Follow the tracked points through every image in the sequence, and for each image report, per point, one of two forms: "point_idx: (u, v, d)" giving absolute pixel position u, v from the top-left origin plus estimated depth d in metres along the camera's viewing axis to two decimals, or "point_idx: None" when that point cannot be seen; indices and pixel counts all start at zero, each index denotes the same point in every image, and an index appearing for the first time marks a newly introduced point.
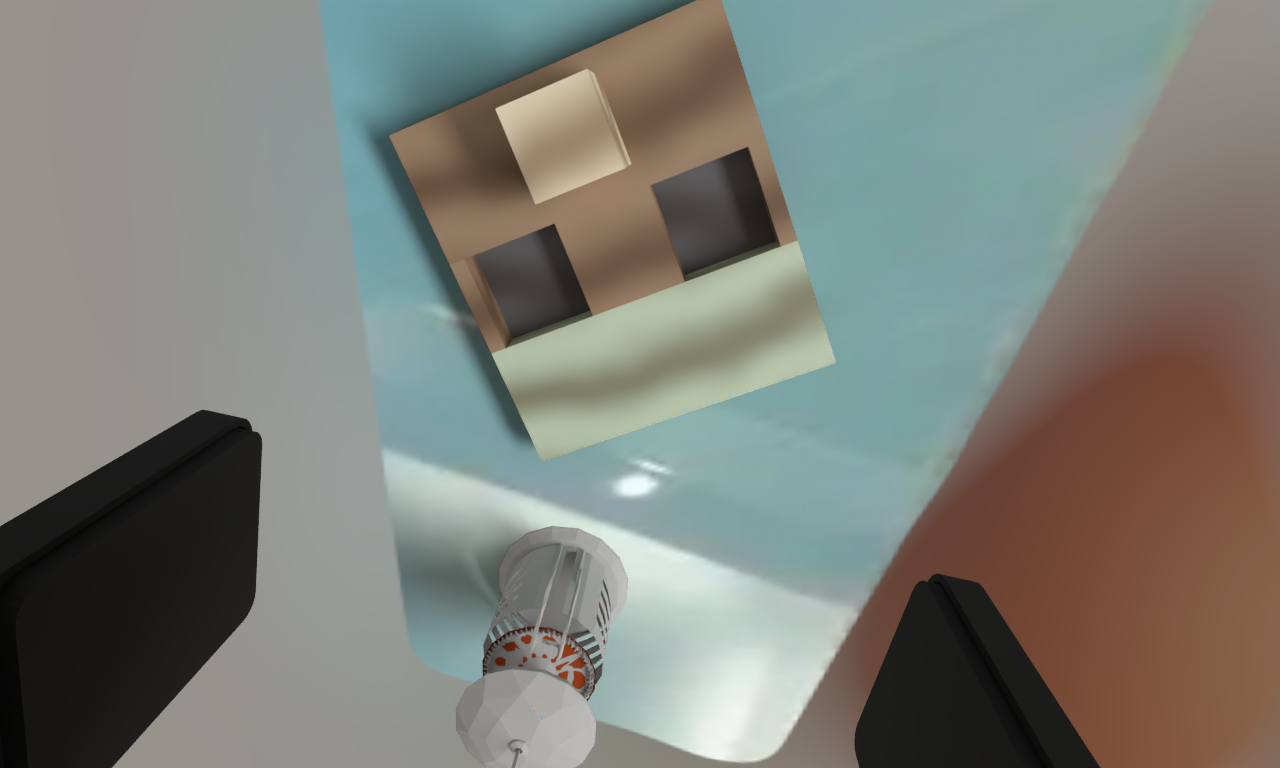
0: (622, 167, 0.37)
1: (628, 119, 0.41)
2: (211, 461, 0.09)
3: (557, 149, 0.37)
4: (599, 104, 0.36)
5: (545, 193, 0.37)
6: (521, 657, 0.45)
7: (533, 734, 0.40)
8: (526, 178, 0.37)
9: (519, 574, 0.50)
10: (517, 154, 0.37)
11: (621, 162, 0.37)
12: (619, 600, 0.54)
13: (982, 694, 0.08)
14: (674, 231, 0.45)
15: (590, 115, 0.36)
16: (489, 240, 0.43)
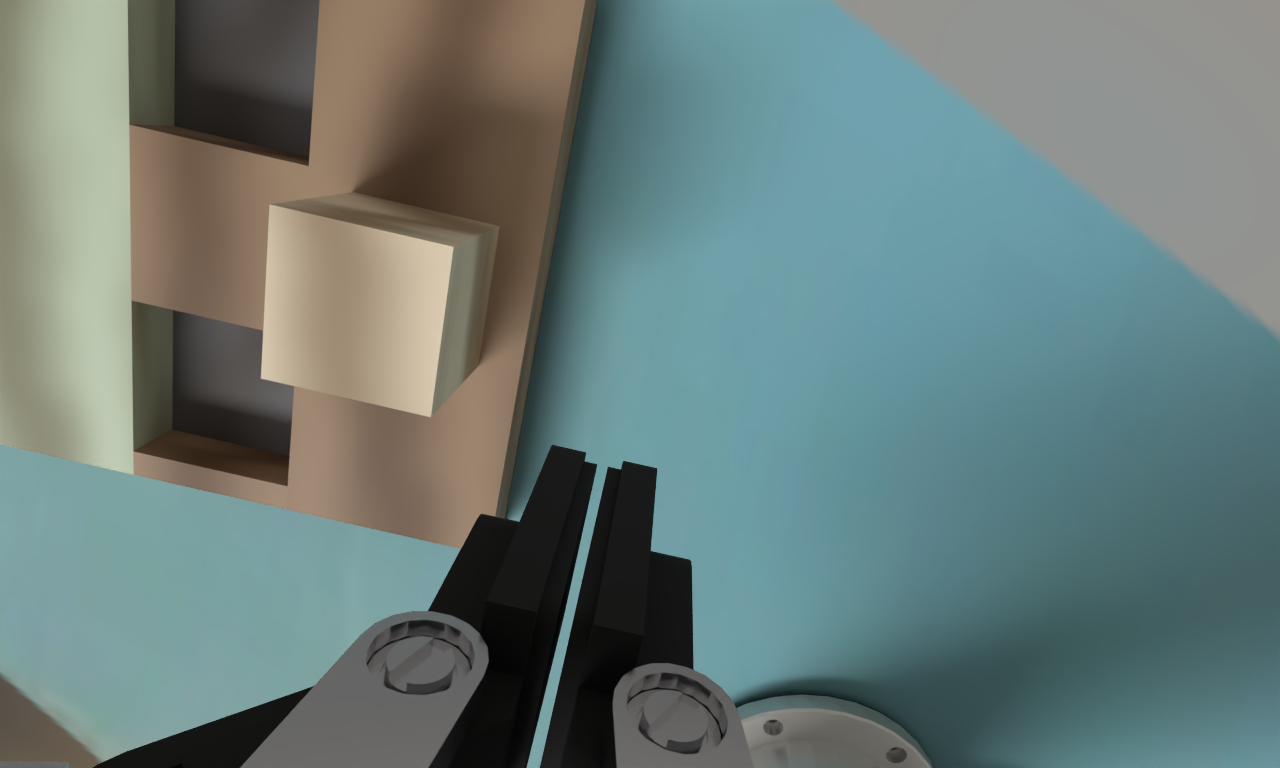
0: (264, 376, 0.21)
1: None
2: (586, 492, 0.10)
3: (339, 300, 0.20)
4: (372, 402, 0.21)
5: (279, 233, 0.19)
6: None
7: None
8: (319, 219, 0.19)
9: None
10: (365, 231, 0.19)
11: (272, 379, 0.21)
12: None
13: (592, 542, 0.09)
14: None
15: (364, 381, 0.21)
16: (332, 37, 0.22)
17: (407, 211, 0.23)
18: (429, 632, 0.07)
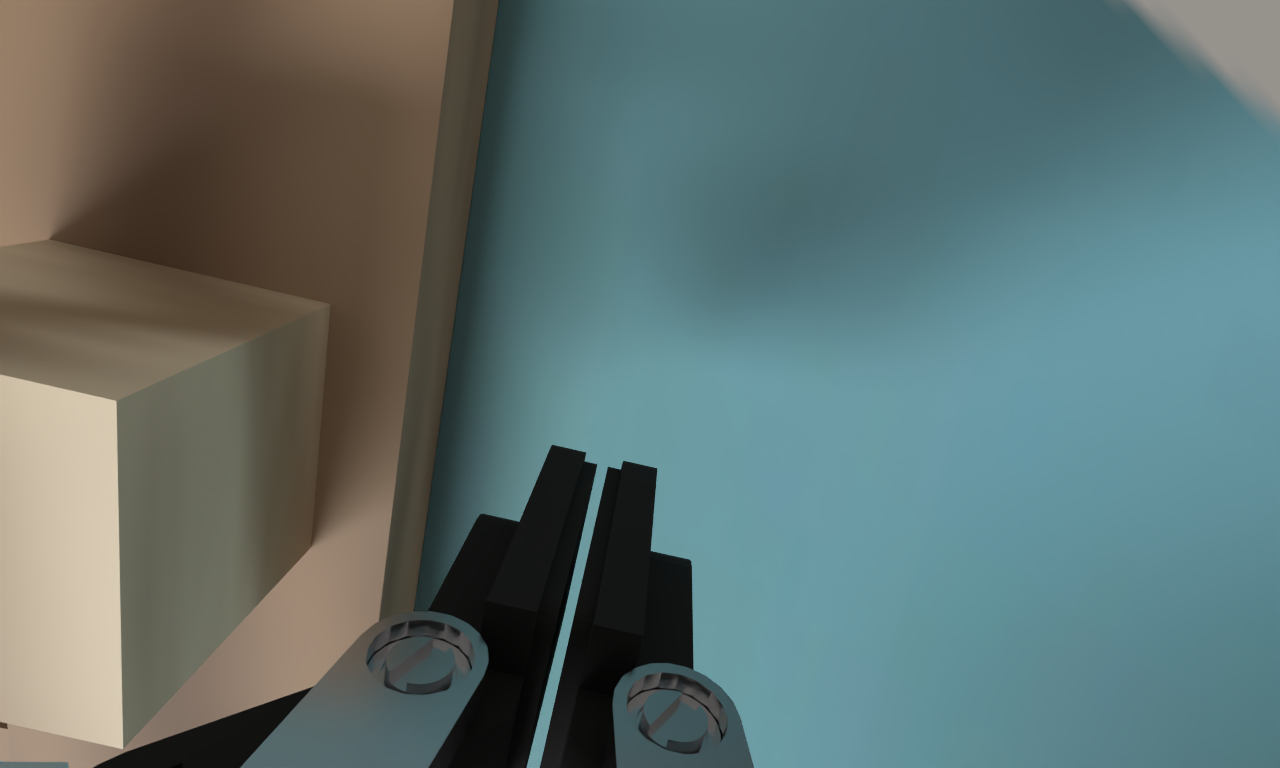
0: None
1: None
2: (586, 492, 0.10)
3: None
4: None
5: None
6: None
7: None
8: None
9: None
10: None
11: None
12: None
13: (592, 542, 0.09)
14: None
15: None
16: None
17: (128, 283, 0.11)
18: (429, 632, 0.07)
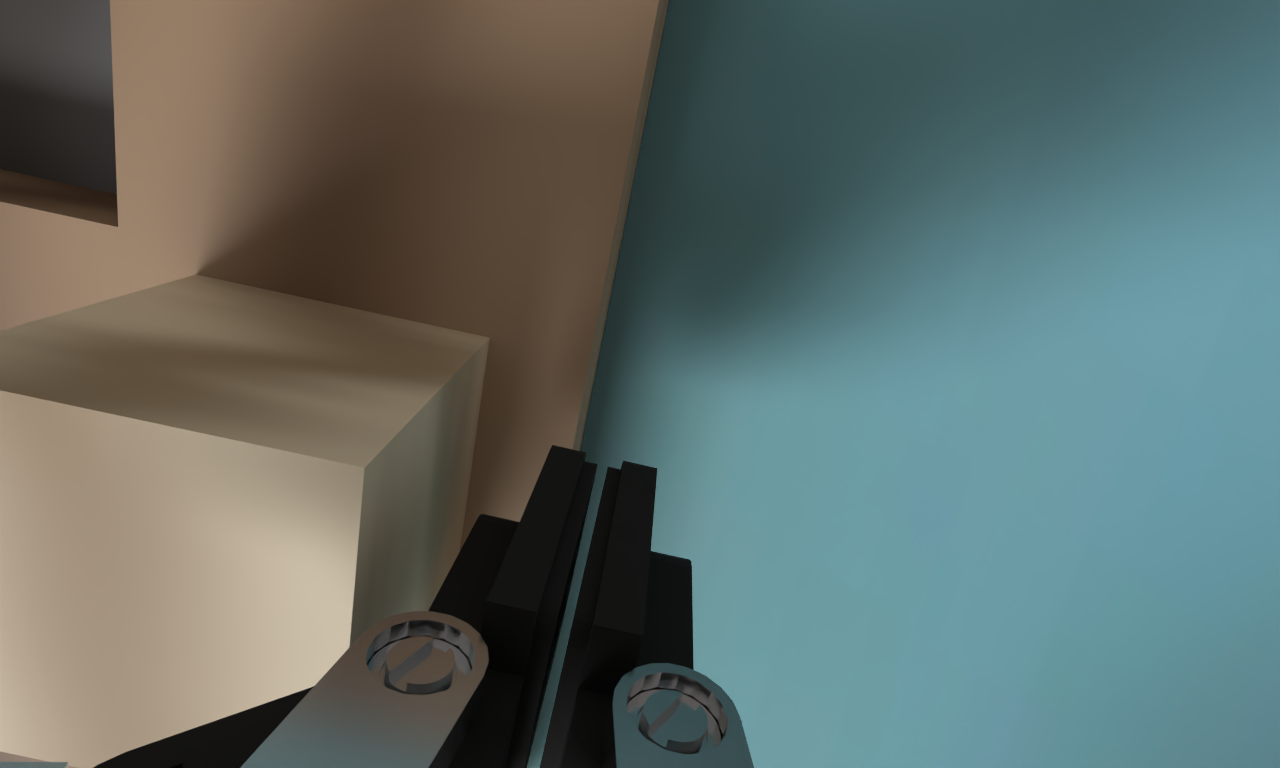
0: None
1: None
2: (586, 492, 0.10)
3: (91, 583, 0.08)
4: None
5: None
6: None
7: None
8: (13, 402, 0.07)
9: None
10: (136, 430, 0.07)
11: None
12: None
13: (592, 541, 0.09)
14: None
15: None
16: None
17: (295, 322, 0.11)
18: (429, 632, 0.07)
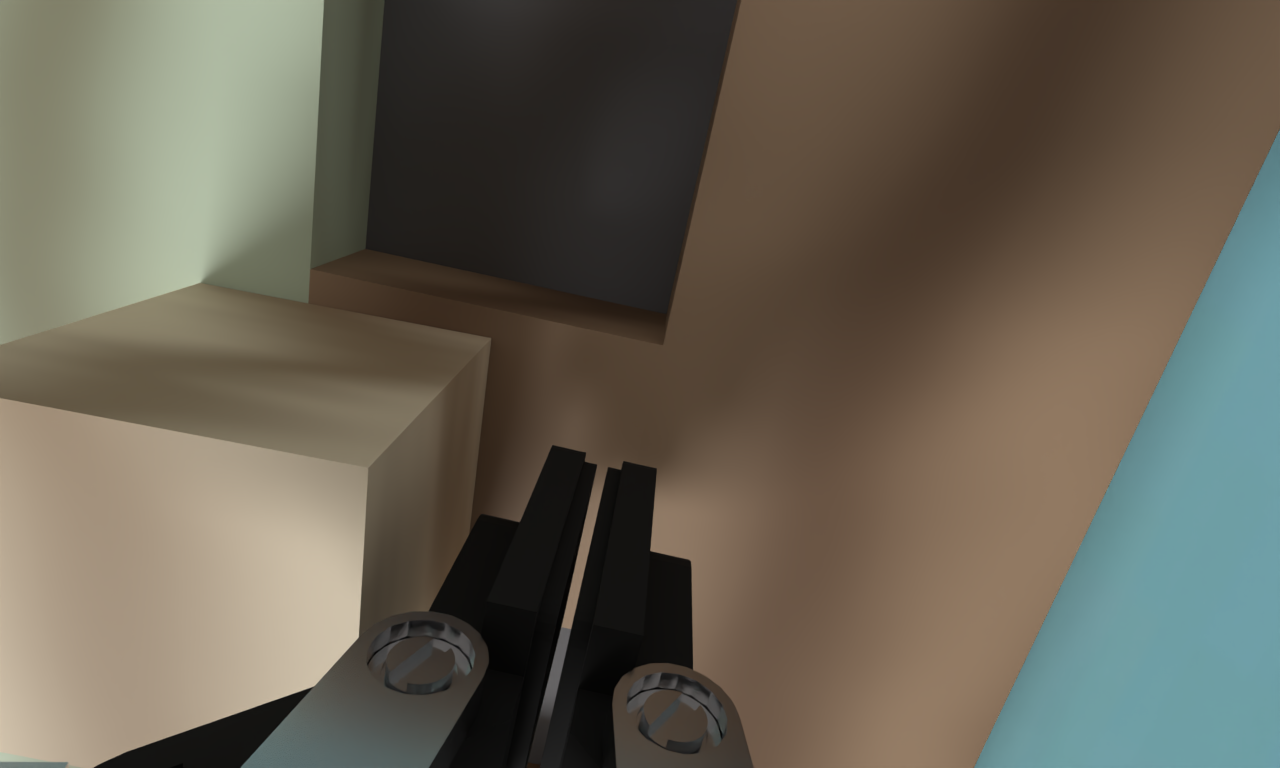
0: None
1: (785, 682, 0.14)
2: (587, 493, 0.10)
3: (105, 588, 0.08)
4: None
5: None
6: None
7: None
8: (23, 411, 0.08)
9: None
10: (143, 436, 0.08)
11: None
12: None
13: (592, 541, 0.09)
14: None
15: None
16: (752, 97, 0.11)
17: (299, 328, 0.11)
18: (429, 632, 0.07)
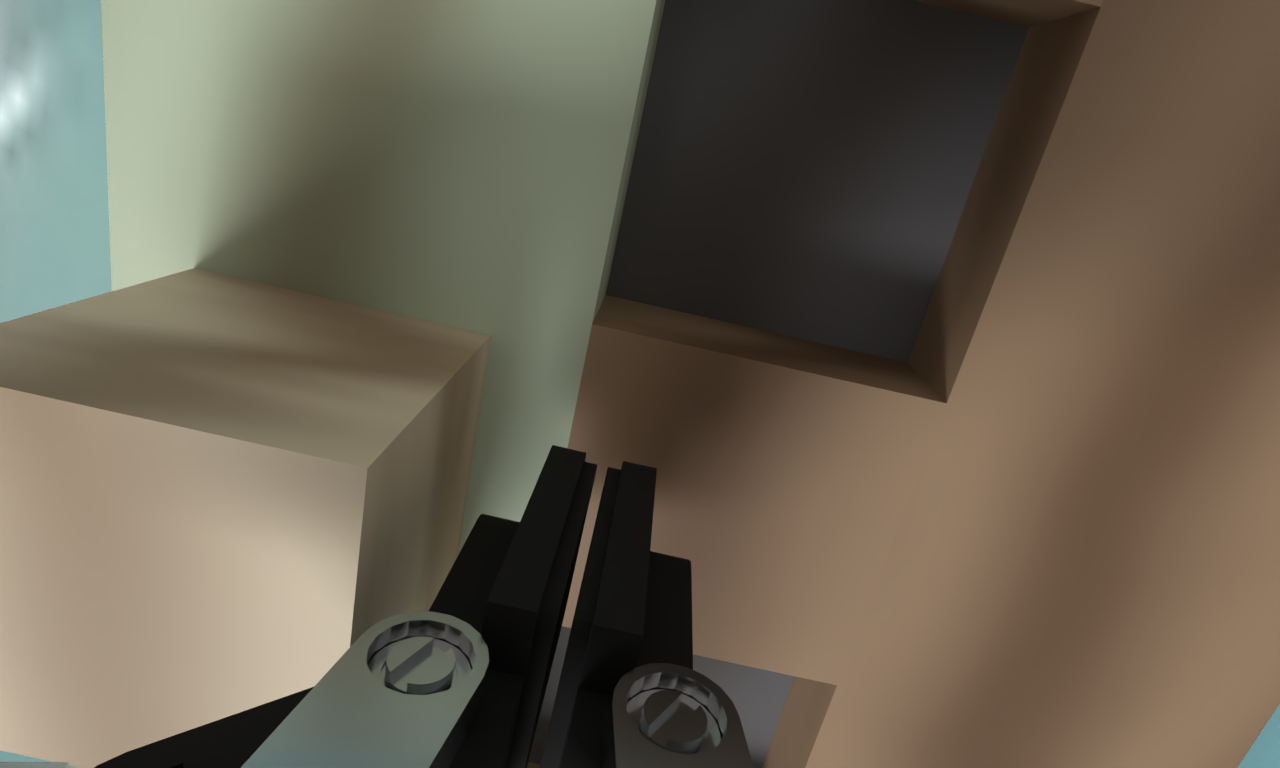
0: None
1: (1023, 733, 0.14)
2: (587, 492, 0.10)
3: (90, 582, 0.08)
4: None
5: None
6: None
7: None
8: (10, 398, 0.07)
9: None
10: (135, 428, 0.07)
11: None
12: None
13: (592, 541, 0.09)
14: None
15: None
16: (1076, 160, 0.11)
17: (295, 318, 0.11)
18: (429, 632, 0.07)
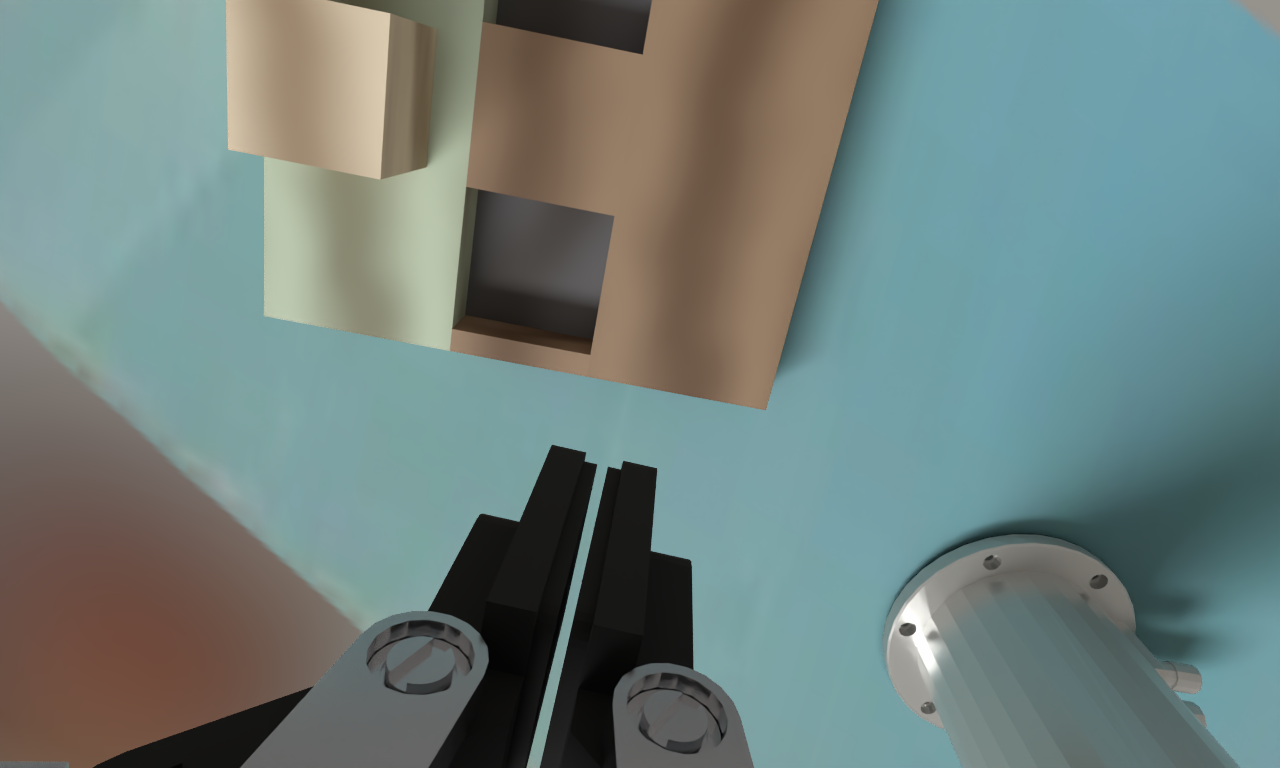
0: (231, 147, 0.24)
1: (706, 239, 0.29)
2: (586, 492, 0.10)
3: (292, 69, 0.23)
4: (328, 167, 0.24)
5: (235, 7, 0.22)
6: None
7: None
8: None
9: None
10: (312, 2, 0.22)
11: (238, 149, 0.24)
12: None
13: (592, 541, 0.09)
14: (542, 201, 0.31)
15: (319, 147, 0.24)
16: None
17: None
18: (429, 632, 0.07)
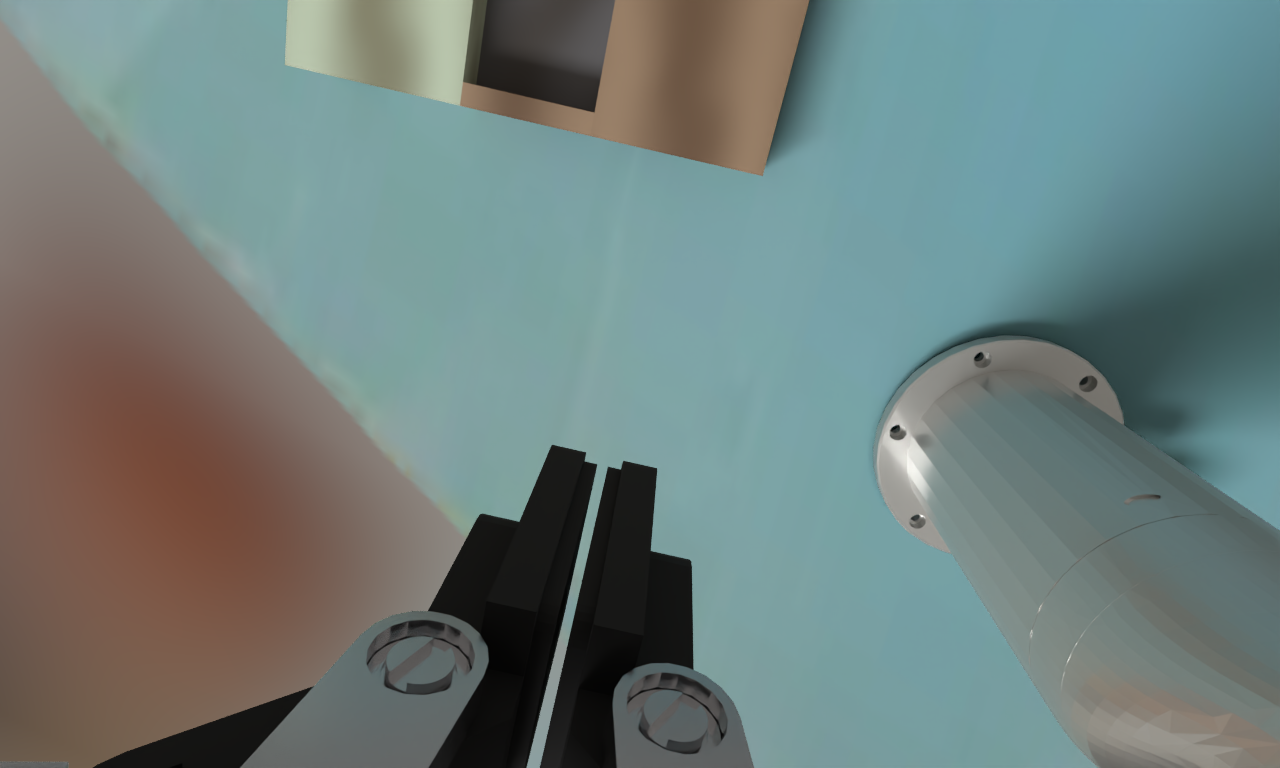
0: None
1: None
2: (586, 492, 0.10)
3: None
4: None
5: None
6: None
7: None
8: None
9: None
10: None
11: None
12: None
13: (592, 541, 0.09)
14: None
15: None
16: None
17: None
18: (429, 632, 0.07)
